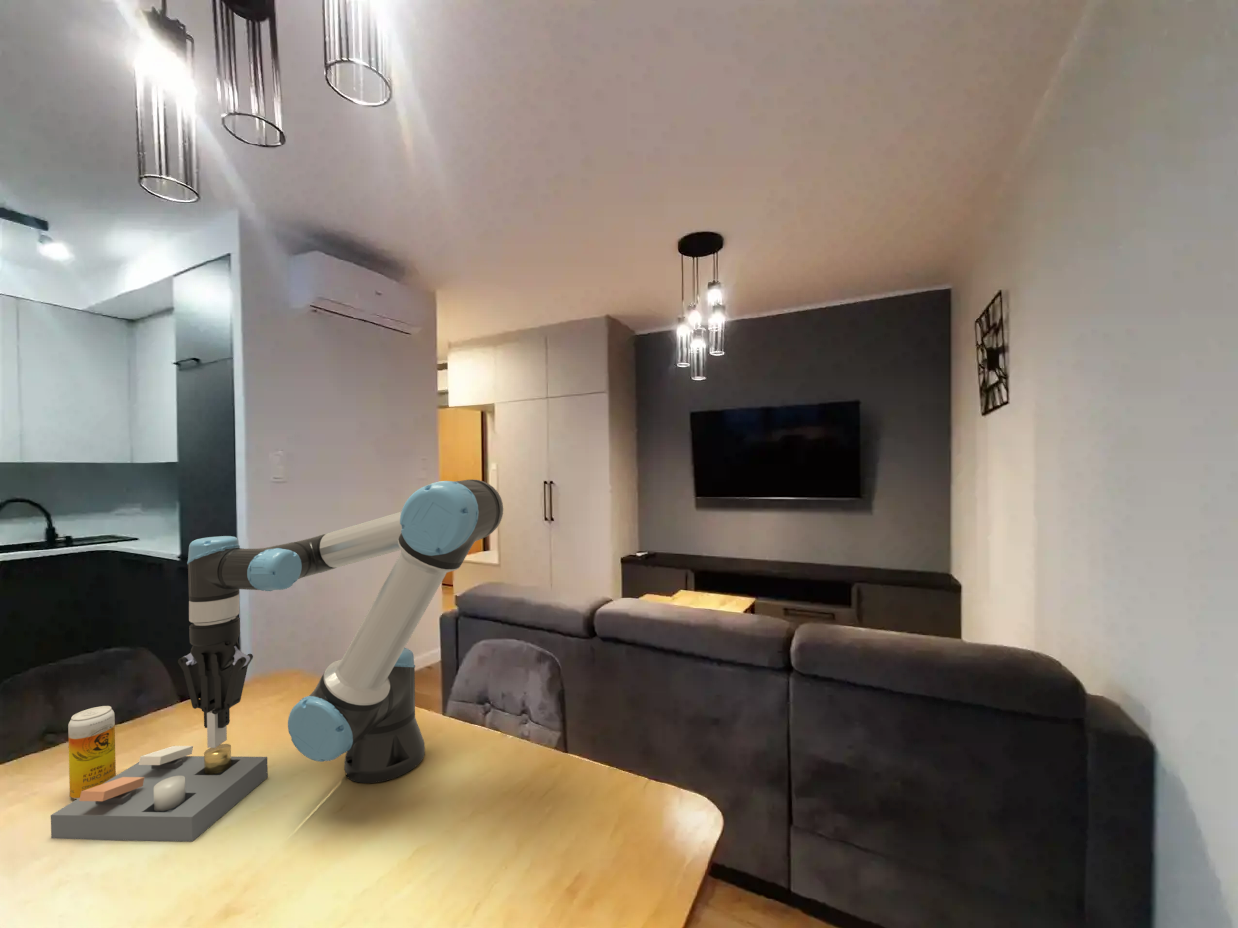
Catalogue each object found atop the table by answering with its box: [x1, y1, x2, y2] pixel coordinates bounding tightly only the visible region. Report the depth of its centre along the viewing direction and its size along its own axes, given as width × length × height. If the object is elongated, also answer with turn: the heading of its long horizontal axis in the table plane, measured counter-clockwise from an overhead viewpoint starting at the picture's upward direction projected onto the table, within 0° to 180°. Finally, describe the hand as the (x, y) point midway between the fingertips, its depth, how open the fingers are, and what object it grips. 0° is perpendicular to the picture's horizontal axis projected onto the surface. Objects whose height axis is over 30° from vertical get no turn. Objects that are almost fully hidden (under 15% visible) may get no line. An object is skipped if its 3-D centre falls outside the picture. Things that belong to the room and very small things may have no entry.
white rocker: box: [138, 745, 194, 765], centre depth 98 cm, size 4×7×1 cm, turn 178°
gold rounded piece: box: [203, 743, 232, 775], centre depth 97 cm, size 4×4×4 cm
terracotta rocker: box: [79, 777, 144, 801], centre depth 88 cm, size 4×7×1 cm, turn 178°
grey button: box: [154, 776, 185, 811], centre depth 87 cm, size 4×4×4 cm
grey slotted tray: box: [50, 755, 269, 842], centre depth 93 cm, size 24×17×5 cm
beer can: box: [67, 705, 117, 800], centre depth 97 cm, size 6×6×15 cm
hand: (217, 743), depth 97 cm, fingers closed
